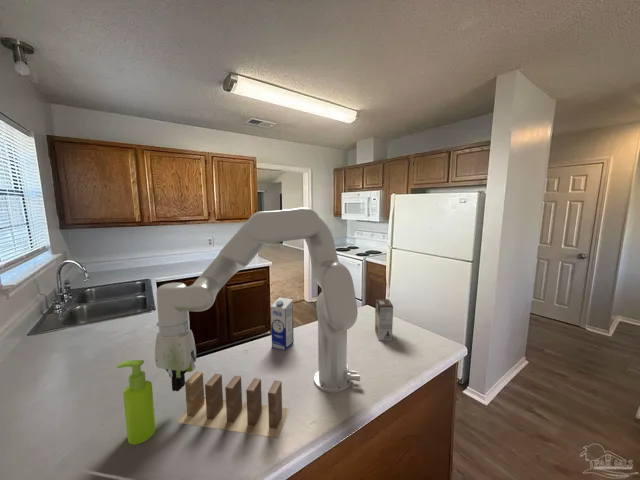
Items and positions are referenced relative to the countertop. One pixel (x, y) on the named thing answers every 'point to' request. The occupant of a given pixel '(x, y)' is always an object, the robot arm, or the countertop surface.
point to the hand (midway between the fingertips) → (178, 387)
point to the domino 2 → (214, 396)
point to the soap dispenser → (138, 404)
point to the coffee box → (383, 319)
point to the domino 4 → (254, 401)
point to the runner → (236, 421)
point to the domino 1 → (194, 393)
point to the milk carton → (282, 323)
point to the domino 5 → (275, 404)
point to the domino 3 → (233, 398)
